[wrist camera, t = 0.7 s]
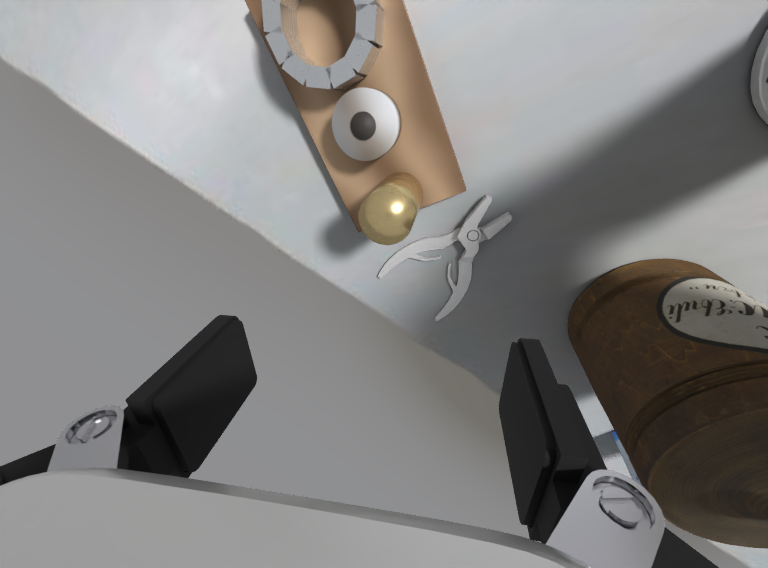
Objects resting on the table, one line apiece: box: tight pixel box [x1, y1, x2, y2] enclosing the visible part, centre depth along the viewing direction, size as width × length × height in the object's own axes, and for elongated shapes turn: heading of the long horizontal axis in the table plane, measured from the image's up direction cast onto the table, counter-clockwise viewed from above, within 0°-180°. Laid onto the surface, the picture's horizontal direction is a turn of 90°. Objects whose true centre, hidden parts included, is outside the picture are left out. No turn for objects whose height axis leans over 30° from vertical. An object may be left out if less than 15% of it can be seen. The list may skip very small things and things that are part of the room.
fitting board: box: [245, 0, 466, 232], centre depth 29 cm, size 12×22×5 cm, turn 25°
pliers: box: [378, 195, 513, 321], centre depth 36 cm, size 10×2×15 cm
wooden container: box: [568, 259, 768, 548], centre depth 26 cm, size 15×15×22 cm
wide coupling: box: [261, 0, 385, 90], centre depth 26 cm, size 9×9×3 cm
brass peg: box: [359, 172, 423, 245], centre depth 29 cm, size 4×4×8 cm
